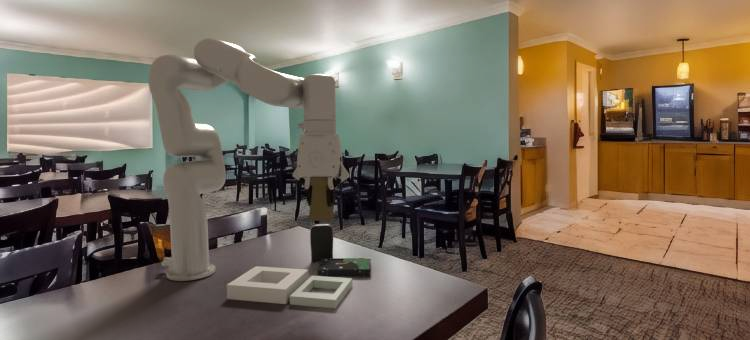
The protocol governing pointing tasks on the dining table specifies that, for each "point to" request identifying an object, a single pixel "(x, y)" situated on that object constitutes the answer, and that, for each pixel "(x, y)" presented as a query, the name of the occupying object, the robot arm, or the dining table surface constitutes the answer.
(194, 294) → the dining table surface
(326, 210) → the cork
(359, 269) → the disk drive
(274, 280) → the beige square frame
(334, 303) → the green square frame
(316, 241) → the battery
